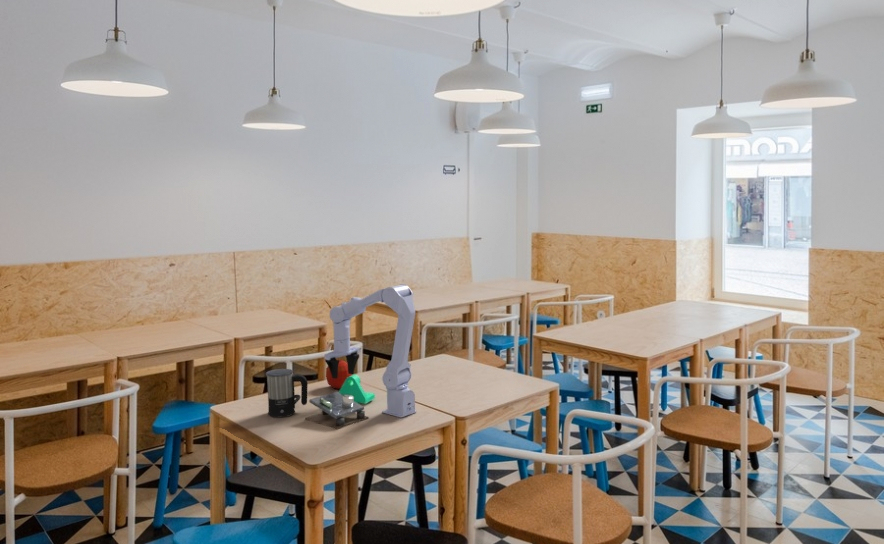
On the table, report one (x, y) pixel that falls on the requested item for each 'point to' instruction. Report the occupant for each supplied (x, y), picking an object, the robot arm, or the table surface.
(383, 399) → the table surface
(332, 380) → the apple
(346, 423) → the stand base
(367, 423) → the table surface
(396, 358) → the robot arm
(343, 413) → the level plate
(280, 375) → the milk frother
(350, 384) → the camera mount
